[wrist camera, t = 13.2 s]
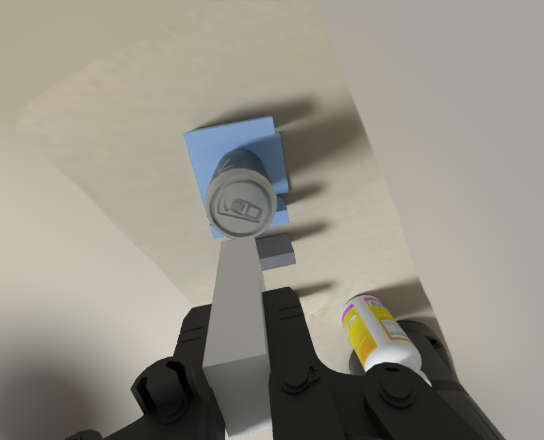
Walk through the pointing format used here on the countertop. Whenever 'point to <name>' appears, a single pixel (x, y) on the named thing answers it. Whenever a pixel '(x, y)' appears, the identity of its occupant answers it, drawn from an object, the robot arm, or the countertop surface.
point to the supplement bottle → (378, 335)
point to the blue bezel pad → (262, 147)
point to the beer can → (240, 196)
